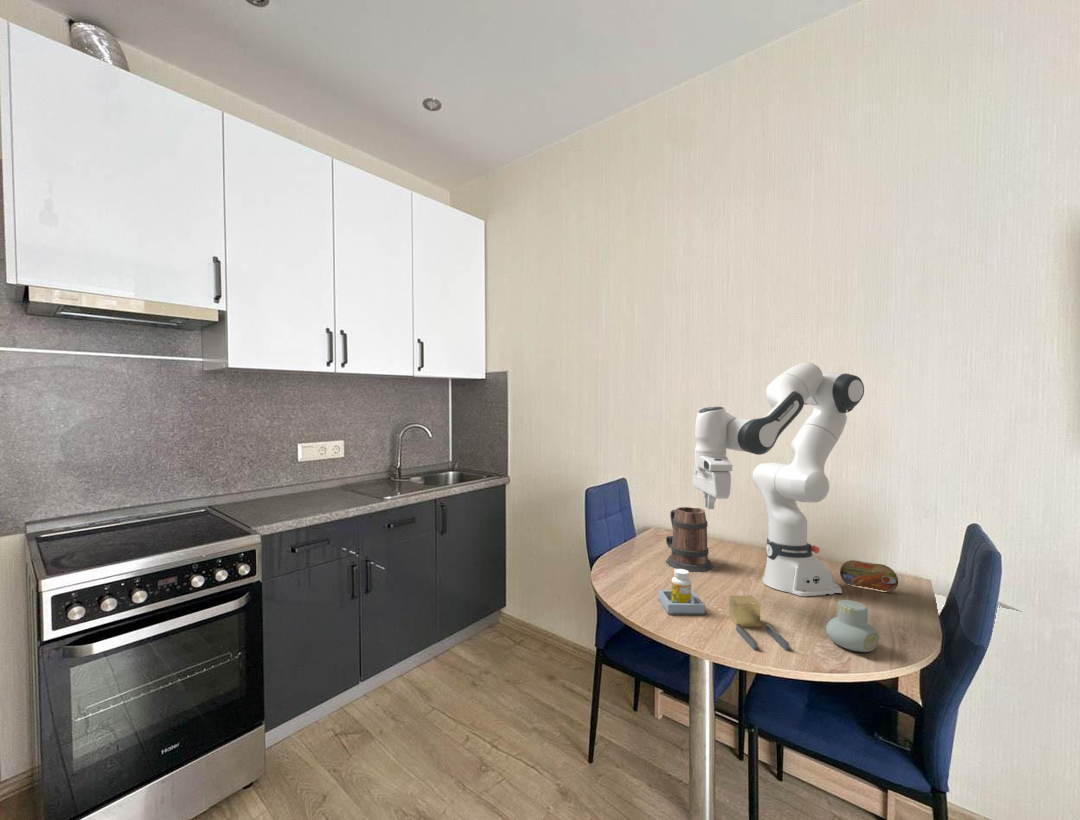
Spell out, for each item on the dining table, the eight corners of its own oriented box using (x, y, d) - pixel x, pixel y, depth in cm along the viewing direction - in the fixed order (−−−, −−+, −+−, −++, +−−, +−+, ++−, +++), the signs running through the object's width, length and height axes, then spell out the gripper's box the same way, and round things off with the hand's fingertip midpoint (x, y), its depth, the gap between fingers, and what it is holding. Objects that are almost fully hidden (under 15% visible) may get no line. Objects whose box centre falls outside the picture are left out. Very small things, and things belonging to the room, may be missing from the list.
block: (751, 617, 124) (751, 595, 124) (760, 626, 119) (760, 603, 119) (728, 617, 124) (729, 595, 124) (736, 626, 119) (737, 603, 119)
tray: (692, 600, 135) (692, 590, 135) (704, 616, 125) (704, 605, 125) (658, 600, 135) (658, 589, 135) (668, 615, 125) (668, 604, 125)
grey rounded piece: (846, 633, 116) (847, 594, 116) (883, 648, 109) (884, 606, 109) (821, 643, 111) (821, 602, 111) (857, 660, 104) (858, 616, 104)
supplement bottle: (693, 609, 127) (694, 574, 127) (674, 608, 127) (674, 574, 127) (687, 601, 133) (688, 568, 133) (669, 600, 133) (669, 567, 133)
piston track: (757, 617, 125) (757, 610, 125) (793, 651, 107) (793, 643, 107) (719, 616, 125) (719, 609, 125) (749, 651, 107) (749, 642, 107)
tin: (839, 584, 149) (840, 559, 149) (839, 581, 152) (840, 556, 152) (898, 595, 141) (898, 568, 141) (897, 592, 144) (897, 565, 144)
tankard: (724, 570, 161) (725, 513, 161) (680, 574, 157) (681, 515, 157) (687, 550, 183) (688, 500, 183) (648, 552, 179) (649, 501, 179)
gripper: (688, 457, 146) (687, 500, 146) (712, 465, 126) (711, 515, 126) (707, 457, 146) (707, 501, 146) (735, 465, 126) (734, 516, 126)
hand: (709, 508), depth 136 cm, fingers closed
